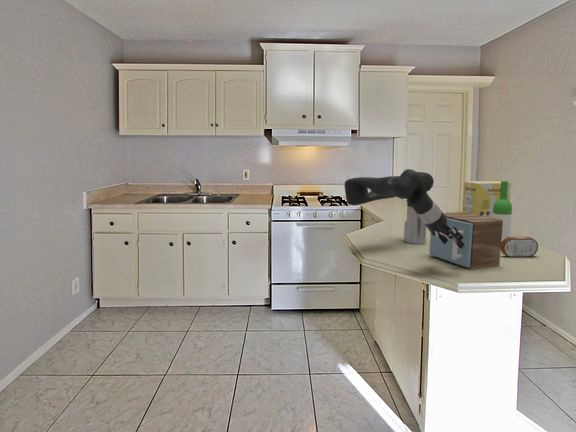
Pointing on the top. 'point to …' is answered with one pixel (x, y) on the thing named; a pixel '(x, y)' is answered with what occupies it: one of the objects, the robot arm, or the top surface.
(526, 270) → the top surface
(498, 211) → the wine bottle
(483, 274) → the top surface
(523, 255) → the tin
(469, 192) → the pasta box
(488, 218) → the cabinet
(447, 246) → the door
